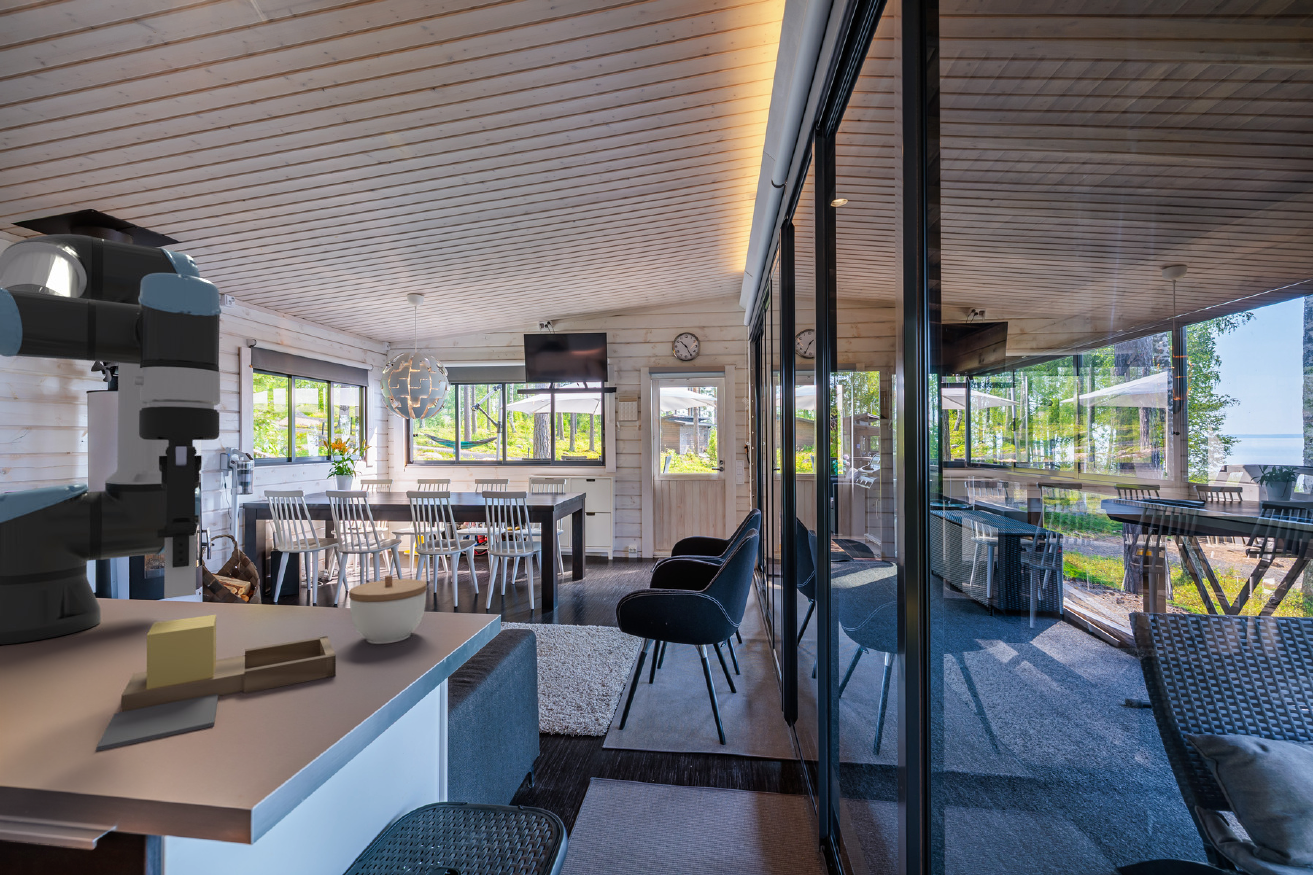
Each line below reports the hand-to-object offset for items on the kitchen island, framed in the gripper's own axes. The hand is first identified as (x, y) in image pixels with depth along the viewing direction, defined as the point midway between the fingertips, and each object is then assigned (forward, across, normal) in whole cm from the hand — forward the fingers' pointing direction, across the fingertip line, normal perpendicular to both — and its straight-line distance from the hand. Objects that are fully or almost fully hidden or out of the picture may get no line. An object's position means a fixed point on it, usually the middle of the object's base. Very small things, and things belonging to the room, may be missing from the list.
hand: (179, 585), depth 71 cm
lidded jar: (+13, -6, +25) cm, 29 cm away
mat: (+12, +9, -1) cm, 15 cm away
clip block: (+8, 0, 0) cm, 8 cm away
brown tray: (+12, +1, +6) cm, 14 cm away
